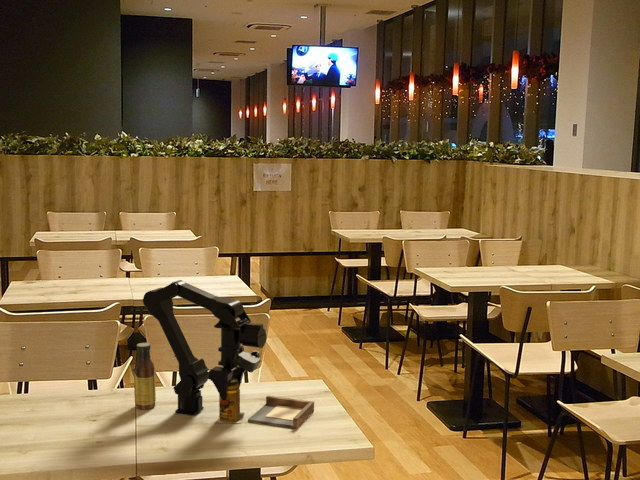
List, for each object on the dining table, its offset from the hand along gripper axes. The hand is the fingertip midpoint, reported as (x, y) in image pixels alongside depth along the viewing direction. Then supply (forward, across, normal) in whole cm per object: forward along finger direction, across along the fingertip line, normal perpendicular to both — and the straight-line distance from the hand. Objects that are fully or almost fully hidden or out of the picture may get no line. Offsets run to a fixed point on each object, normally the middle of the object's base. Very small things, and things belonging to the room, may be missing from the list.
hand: (230, 395), depth 233 cm
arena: (+7, +6, -13) cm, 16 cm away
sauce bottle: (+7, -1, +28) cm, 29 cm away
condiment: (+7, 0, 0) cm, 7 cm away
